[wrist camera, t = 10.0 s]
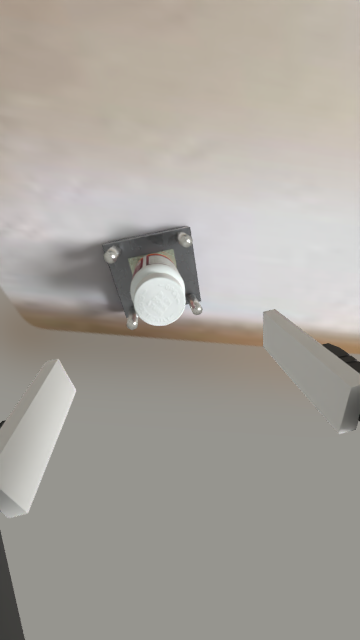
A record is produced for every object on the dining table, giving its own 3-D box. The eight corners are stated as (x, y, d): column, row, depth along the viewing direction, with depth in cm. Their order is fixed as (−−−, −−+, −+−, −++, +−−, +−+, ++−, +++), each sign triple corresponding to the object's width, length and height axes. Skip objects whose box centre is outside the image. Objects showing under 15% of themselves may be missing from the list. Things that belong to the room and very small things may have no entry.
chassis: (105, 243, 31) (93, 251, 24) (187, 226, 31) (197, 229, 24) (127, 311, 36) (123, 333, 29) (197, 295, 36) (208, 314, 30)
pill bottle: (146, 301, 32) (145, 340, 22) (125, 263, 30) (115, 289, 20) (183, 284, 32) (199, 316, 22) (166, 244, 29) (176, 261, 19)
